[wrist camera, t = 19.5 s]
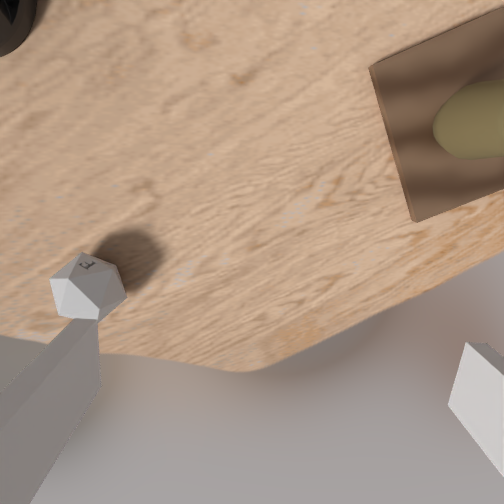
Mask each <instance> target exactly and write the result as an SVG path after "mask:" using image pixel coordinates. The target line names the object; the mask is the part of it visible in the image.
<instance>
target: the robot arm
mask: <svg viewBox="0 0 504 504" xmlns="http://www.w3.org/2000/svg"><path fill="white" fill-rule="evenodd" d="M36 5H37V0H0V57H2V56H4V55H6V54H8V53H10V52H11V51H13V50H14V49H15V48H17V47H18V46H19V45H20V44H21V43H22V41H23V40H24V39H25V37H26V36H27V34H28V33H29V31H30V29H31V26H32V24H33V21H34V17H35V12H36ZM100 388H101V373H100V358H99V341H98V325H97V319H81V318H74V319H73V320H72V321H71V322H70V323H69V324H68V325H67V326H66V327H65V328H64V329H63V330H62V331H61V332H60V333H59V334H58V335H57V336H56V337H55V338H54V339H53V340H52V341H51V342H50V343H49V344H48V345H47V346H46V347H45V348H44V349H43V350H42V351H41V352H40V353H39V354H38V355H37V356H36V357H35V358H34V359H33V360H32V361H31V362H30V363H29V364H28V365H27V366H26V367H25V368H24V369H23V370H22V371H21V372H20V373H19V374H18V375H17V376H16V377H15V378H14V379H13V380H12V381H11V382H10V383H9V384H8V385H7V386H6V387H5V388H4V389H3V390H2V391H1V392H0V504H30V502H31V501H32V499H33V497H34V496H35V494H36V493H37V491H38V489H39V488H40V486H41V484H42V483H43V481H44V479H45V478H46V476H47V474H48V473H49V471H50V469H51V468H52V466H53V464H54V463H55V461H56V460H57V458H58V456H59V455H60V453H61V451H62V450H63V448H64V447H65V445H66V443H67V442H68V440H69V438H70V437H71V435H72V433H73V432H74V430H75V429H76V427H77V425H78V424H79V422H80V420H81V419H82V417H83V415H84V414H85V412H86V410H87V409H88V407H89V405H90V404H91V402H92V401H93V399H94V397H95V396H96V394H97V392H98V391H99V389H100ZM448 406H449V407H450V409H451V410H452V411H453V412H454V414H455V415H456V416H457V417H458V419H459V420H460V422H461V423H462V424H463V425H464V427H465V428H466V429H467V431H468V432H469V433H470V434H471V436H472V437H473V438H474V440H475V441H476V442H477V443H478V445H479V446H480V447H481V448H482V450H483V451H484V452H485V454H486V455H487V456H488V458H489V459H490V460H491V461H492V463H493V464H494V465H495V467H496V468H497V469H498V471H499V472H500V473H501V475H502V476H503V477H504V357H503V356H502V355H500V354H499V353H498V352H497V351H496V350H495V349H493V348H492V347H491V346H490V345H488V344H487V343H475V342H466V345H465V348H464V351H463V355H462V358H461V362H460V366H459V369H458V372H457V375H456V379H455V382H454V385H453V389H452V392H451V396H450V399H449V402H448Z"/></svg>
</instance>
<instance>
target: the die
mask: <svg viewBox="0 0 504 504" xmlns="http://www.w3.org/2000/svg"><path fill="white" fill-rule="evenodd" d="M49 280H50V284H51V288H52V292H53V295H54V299H55V303H56V307H57V311H58V315H60V316H65V317H69V318H73V319H74V318H81V319H97V323H99V322H100V321H101V320H102V319H103V318H104V317H106V316H107V315H108V314H109V313H110V312H111V311H112V310H114V309H115V308H116V307H117V306H118V305H119V304H121V303H122V302H123V301H124V300H125V299H126V298H127V295H126V292H125V289H124V286H123V283H122V281H121V278H120V275H119V272H118V269H117V266H116V265H114V264H112V263H109V262H106V261H104V260H101V259H99V258H96V257H94V256H91V255H89V254H86V253H83V252H81V253H80V254H79V255H78V256H76V257H75V258H74V259H73V260H72V261H70V262H69V263H68V264H67V265H65V266H64V267H63V268H62V269H60V270H59V271H58V272H57V273H56V274H54V275H53V276H52V277H51V278H49Z"/></svg>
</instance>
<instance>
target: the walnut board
mask: <svg viewBox="0 0 504 504" xmlns="http://www.w3.org/2000/svg"><path fill="white" fill-rule="evenodd" d="M369 72H370V75H371V79H372V82H373V86H374V89H375V93H376V96H377V100H378V103H379V107H380V110H381V114H382V117H383V121H384V124H385V128H386V131H387V135H388V138H389V142H390V145H391V149H392V152H393V156H394V160H395V163H396V167H397V170H398V174H399V177H400V181H401V184H402V188H403V191H404V195H405V198H406V202H407V205H408V209H409V212H410V216H411V219H412V221H414V222H417V223H418V222H420V221H423V220H425V219H428V218H430V217H433V216H435V215H438V214H440V213H443V212H446V211H448V210H451V209H453V208H456V207H458V206H461V205H463V204H466V203H469V202H471V201H474V200H476V199H479V198H481V197H484V196H486V195H489V194H492V193H494V192H497V191H499V190H502V189H504V157H495V158H486V159H476V160H468V159H459V158H457V157H455V156H454V155H452V154H450V153H449V152H447V151H446V150H445V149H444V148H443V147H441V146H440V145H439V144H438V142H437V141H436V139H435V137H434V135H433V127H432V126H433V122H434V118H435V115H436V114H437V112H438V111H439V109H440V108H441V106H442V105H443V104H444V103H445V102H446V101H447V100H448V99H449V98H450V97H451V96H453V95H454V94H455V93H456V92H458V91H459V90H460V89H462V88H463V87H464V86H467V85H471V84H474V83H477V82H483V81H492V80H501V79H504V8H503V7H502V8H499V9H497V10H495V11H493V12H490V13H488V14H486V15H484V16H481V17H479V18H477V19H475V20H472V21H470V22H468V23H466V24H463V25H461V26H459V27H457V28H455V29H452V30H450V31H448V32H446V33H443V34H441V35H439V36H437V37H434V38H432V39H430V40H428V41H425V42H423V43H421V44H419V45H416V46H414V47H412V48H410V49H407V50H405V51H403V52H401V53H398V54H396V55H394V56H392V57H390V58H387V59H385V60H383V61H381V62H378V63H376V64H374V65H372V66H370V67H369Z"/></svg>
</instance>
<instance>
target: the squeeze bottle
mask: <svg viewBox="0 0 504 504" xmlns="http://www.w3.org/2000/svg"><path fill="white" fill-rule="evenodd" d="M432 127H433V135H434V137H435V139H436V141H437V142H438V144H439V145H440V146H441V147H443V148H444V149H445V150H446V151H447V152H449V153H450V154H452V155H454V156H455V157H457V158H459V159H468V160H476V159H486V158H495V157H504V79H501V80H492V81H483V82H477V83H474V84H471V85H467V86H464V87H463V88H462V89H460V90H459V91H458V92H456V93H455V94H454V95H453V96H451V97H450V98H449V99H448V100H447V101H446V102H445V103H444V104H443V105H442V106H441V108H440V109H439V111H438V112H437V114H436V115H435V118H434V122H433V126H432Z"/></svg>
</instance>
